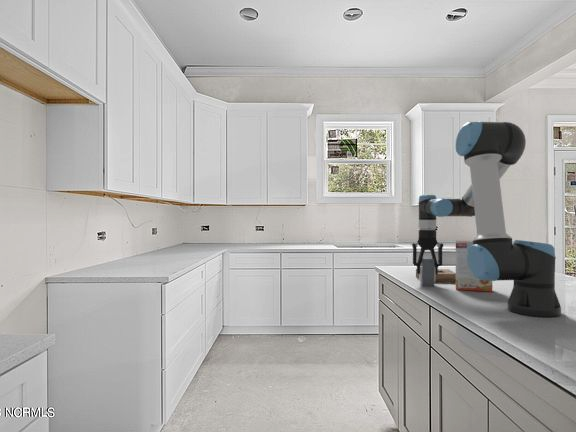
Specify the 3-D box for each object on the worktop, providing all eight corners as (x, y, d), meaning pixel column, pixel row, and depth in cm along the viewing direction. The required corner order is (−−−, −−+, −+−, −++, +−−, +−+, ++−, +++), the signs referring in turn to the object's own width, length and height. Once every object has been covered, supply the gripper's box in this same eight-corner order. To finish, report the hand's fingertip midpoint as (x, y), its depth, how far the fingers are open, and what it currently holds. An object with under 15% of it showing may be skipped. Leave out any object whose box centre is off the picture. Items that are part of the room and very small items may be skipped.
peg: (434, 286, 179) (434, 259, 178) (422, 285, 179) (422, 258, 179) (431, 284, 184) (431, 257, 183) (420, 283, 184) (420, 257, 184)
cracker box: (491, 289, 170) (491, 240, 170) (492, 292, 165) (492, 241, 164) (455, 287, 176) (455, 239, 175) (455, 289, 170) (455, 240, 170)
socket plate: (457, 283, 186) (457, 274, 186) (421, 282, 188) (421, 273, 188) (448, 277, 202) (448, 269, 202) (415, 276, 204) (415, 268, 204)
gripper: (446, 229, 184) (446, 280, 184) (405, 228, 186) (405, 279, 186) (450, 229, 176) (450, 283, 176) (408, 229, 179) (407, 282, 179)
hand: (427, 281), depth 181 cm, fingers closed on peg, 5 cm apart
